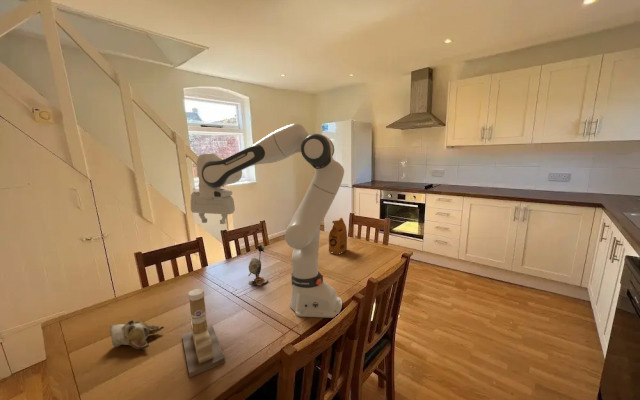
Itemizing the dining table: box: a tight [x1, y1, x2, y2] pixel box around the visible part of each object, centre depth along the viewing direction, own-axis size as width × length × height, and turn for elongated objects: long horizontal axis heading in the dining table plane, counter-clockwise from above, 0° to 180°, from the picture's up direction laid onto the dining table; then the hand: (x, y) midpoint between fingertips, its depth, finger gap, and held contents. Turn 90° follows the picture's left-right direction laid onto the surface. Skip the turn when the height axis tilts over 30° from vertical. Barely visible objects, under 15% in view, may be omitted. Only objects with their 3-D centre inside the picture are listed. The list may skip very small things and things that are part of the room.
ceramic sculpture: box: [109, 320, 165, 350], centre depth 88 cm, size 11×9×15 cm
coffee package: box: [328, 217, 348, 255], centre depth 168 cm, size 10×12×22 cm
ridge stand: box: [181, 318, 226, 378], centre depth 84 cm, size 20×10×8 cm, turn 34°
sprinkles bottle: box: [187, 288, 208, 333], centre depth 83 cm, size 5×5×13 cm
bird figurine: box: [248, 244, 269, 286], centre depth 128 cm, size 8×11×20 cm
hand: (213, 223), depth 111 cm, fingers open, 8 cm apart
